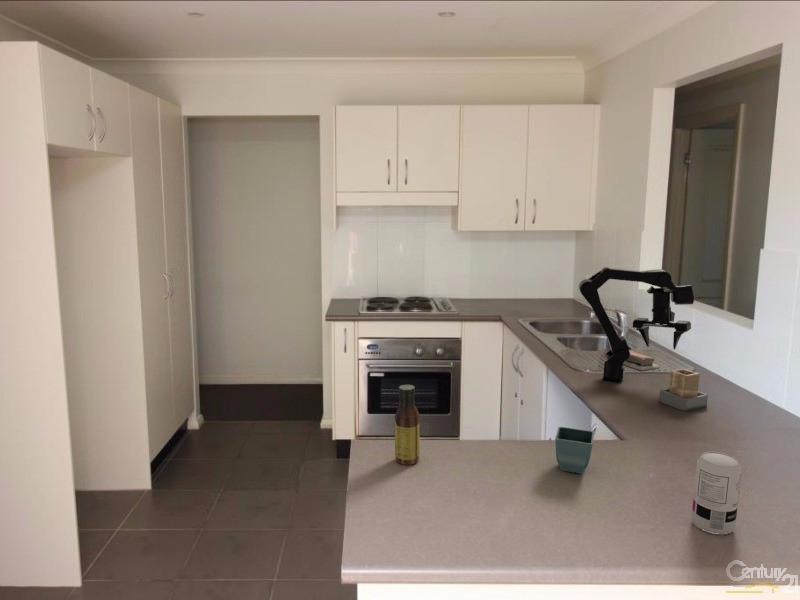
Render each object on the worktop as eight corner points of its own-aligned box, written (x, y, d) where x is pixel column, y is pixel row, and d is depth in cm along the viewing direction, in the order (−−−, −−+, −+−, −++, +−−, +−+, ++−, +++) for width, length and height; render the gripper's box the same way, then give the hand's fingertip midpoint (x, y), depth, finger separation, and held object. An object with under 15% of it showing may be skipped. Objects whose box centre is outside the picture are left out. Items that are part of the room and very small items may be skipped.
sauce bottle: (407, 453, 165) (408, 380, 162) (424, 461, 161) (426, 386, 157) (388, 461, 161) (389, 386, 157) (406, 468, 156) (407, 392, 153)
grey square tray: (658, 401, 208) (660, 390, 207) (679, 397, 213) (680, 385, 212) (685, 411, 199) (687, 399, 199) (706, 406, 204) (708, 394, 203)
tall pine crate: (668, 400, 207) (671, 371, 205) (680, 397, 210) (683, 368, 208) (684, 406, 202) (687, 376, 200) (696, 403, 205) (699, 373, 203)
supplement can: (683, 516, 135) (689, 450, 133) (720, 515, 136) (727, 450, 133) (704, 537, 127) (711, 467, 125) (743, 536, 128) (751, 466, 125)
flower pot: (591, 464, 160) (594, 430, 159) (590, 479, 152) (592, 443, 151) (556, 458, 163) (558, 426, 162) (553, 473, 155) (555, 438, 153)
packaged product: (608, 348, 259) (626, 346, 263) (607, 360, 259) (625, 357, 264) (642, 359, 243) (661, 357, 247) (641, 371, 243) (660, 369, 248)
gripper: (695, 302, 224) (695, 345, 227) (642, 299, 236) (642, 340, 239) (686, 308, 216) (686, 352, 219) (631, 305, 228) (632, 347, 230)
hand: (661, 347), depth 227 cm, fingers open, 9 cm apart
